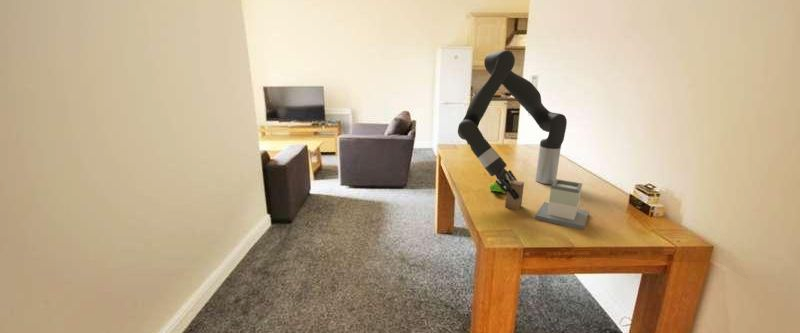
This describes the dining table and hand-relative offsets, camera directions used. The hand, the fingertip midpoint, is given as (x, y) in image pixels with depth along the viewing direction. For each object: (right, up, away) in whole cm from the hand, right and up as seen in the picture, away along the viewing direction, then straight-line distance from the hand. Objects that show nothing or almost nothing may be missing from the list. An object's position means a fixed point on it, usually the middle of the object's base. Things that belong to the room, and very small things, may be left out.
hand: (519, 196), depth 140 cm
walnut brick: (-2, -4, +2) cm, 5 cm away
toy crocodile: (-1, +1, +22) cm, 22 cm away
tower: (+14, -7, -7) cm, 17 cm away
